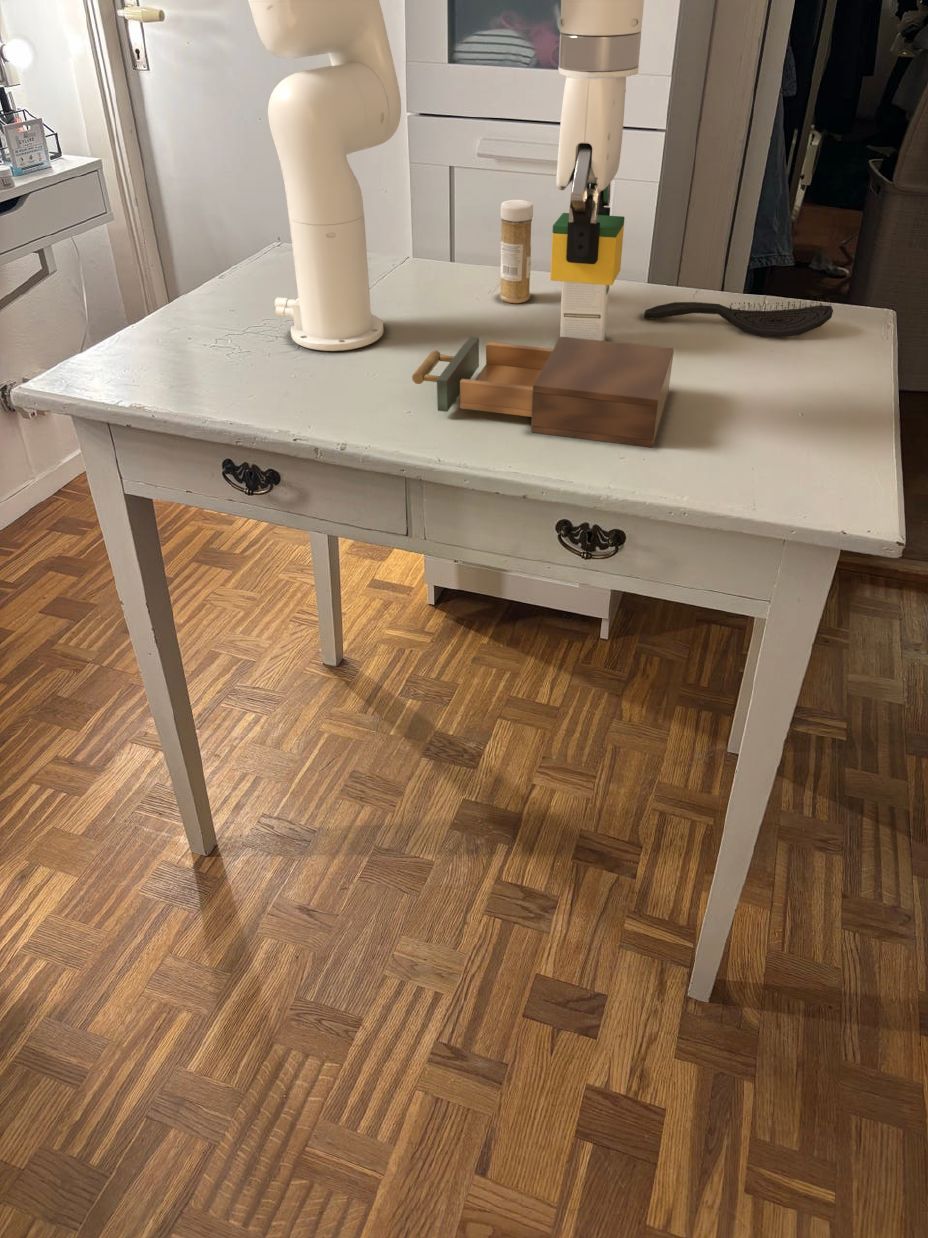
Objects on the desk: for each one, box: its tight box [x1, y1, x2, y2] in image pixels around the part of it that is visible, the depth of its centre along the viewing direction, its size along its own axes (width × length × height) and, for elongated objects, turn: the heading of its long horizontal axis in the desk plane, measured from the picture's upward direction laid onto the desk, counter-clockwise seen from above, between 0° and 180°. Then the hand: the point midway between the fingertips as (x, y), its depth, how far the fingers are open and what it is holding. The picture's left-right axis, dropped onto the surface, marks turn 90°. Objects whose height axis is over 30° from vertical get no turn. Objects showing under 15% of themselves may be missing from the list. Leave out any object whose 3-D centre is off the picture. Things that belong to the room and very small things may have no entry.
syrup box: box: [559, 281, 611, 341], centre depth 121 cm, size 6×6×14 cm
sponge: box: [550, 212, 626, 286], centre depth 99 cm, size 7×5×6 cm
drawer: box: [411, 335, 554, 418], centre depth 111 cm, size 17×13×4 cm
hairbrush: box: [643, 297, 834, 339], centre depth 130 cm, size 8×4×25 cm
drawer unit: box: [530, 336, 675, 448], centre depth 108 cm, size 14×15×6 cm
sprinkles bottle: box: [499, 199, 534, 304], centre depth 136 cm, size 5×5×14 cm
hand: (587, 252), depth 99 cm, fingers closed on sponge, 5 cm apart
